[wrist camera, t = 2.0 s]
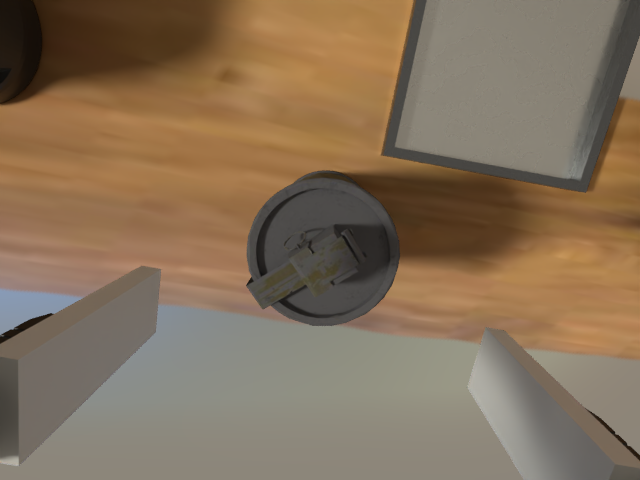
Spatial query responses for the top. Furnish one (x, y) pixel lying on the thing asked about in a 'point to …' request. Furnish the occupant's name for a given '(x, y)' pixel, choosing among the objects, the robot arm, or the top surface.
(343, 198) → the canister
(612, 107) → the shallow grey tray
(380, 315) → the top surface
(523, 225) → the top surface
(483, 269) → the top surface
